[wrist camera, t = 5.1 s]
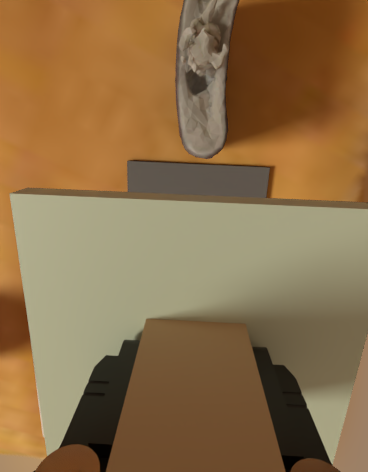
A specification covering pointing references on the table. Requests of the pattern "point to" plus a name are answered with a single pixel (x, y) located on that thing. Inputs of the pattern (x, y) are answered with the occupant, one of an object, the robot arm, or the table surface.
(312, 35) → the table surface
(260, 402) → the lid
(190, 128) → the flask
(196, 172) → the mat
